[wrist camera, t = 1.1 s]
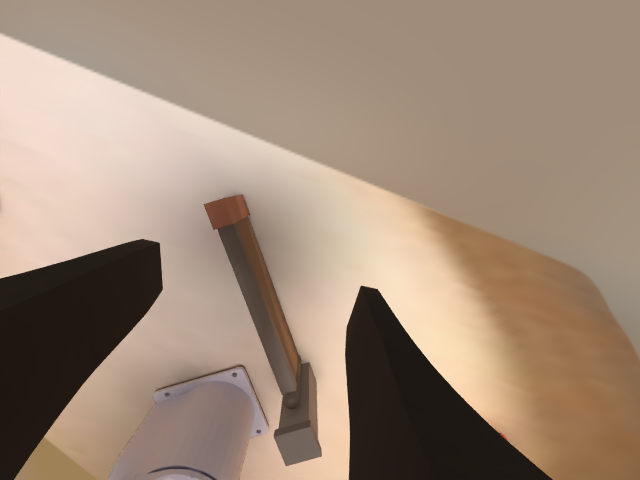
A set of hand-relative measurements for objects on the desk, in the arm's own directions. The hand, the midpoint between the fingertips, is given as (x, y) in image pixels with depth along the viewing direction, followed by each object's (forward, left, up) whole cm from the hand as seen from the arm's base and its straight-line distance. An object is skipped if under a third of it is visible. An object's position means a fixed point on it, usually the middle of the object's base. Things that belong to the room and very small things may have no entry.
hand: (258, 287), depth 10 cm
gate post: (-4, -15, -15) cm, 22 cm away
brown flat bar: (-4, -5, -15) cm, 16 cm away
